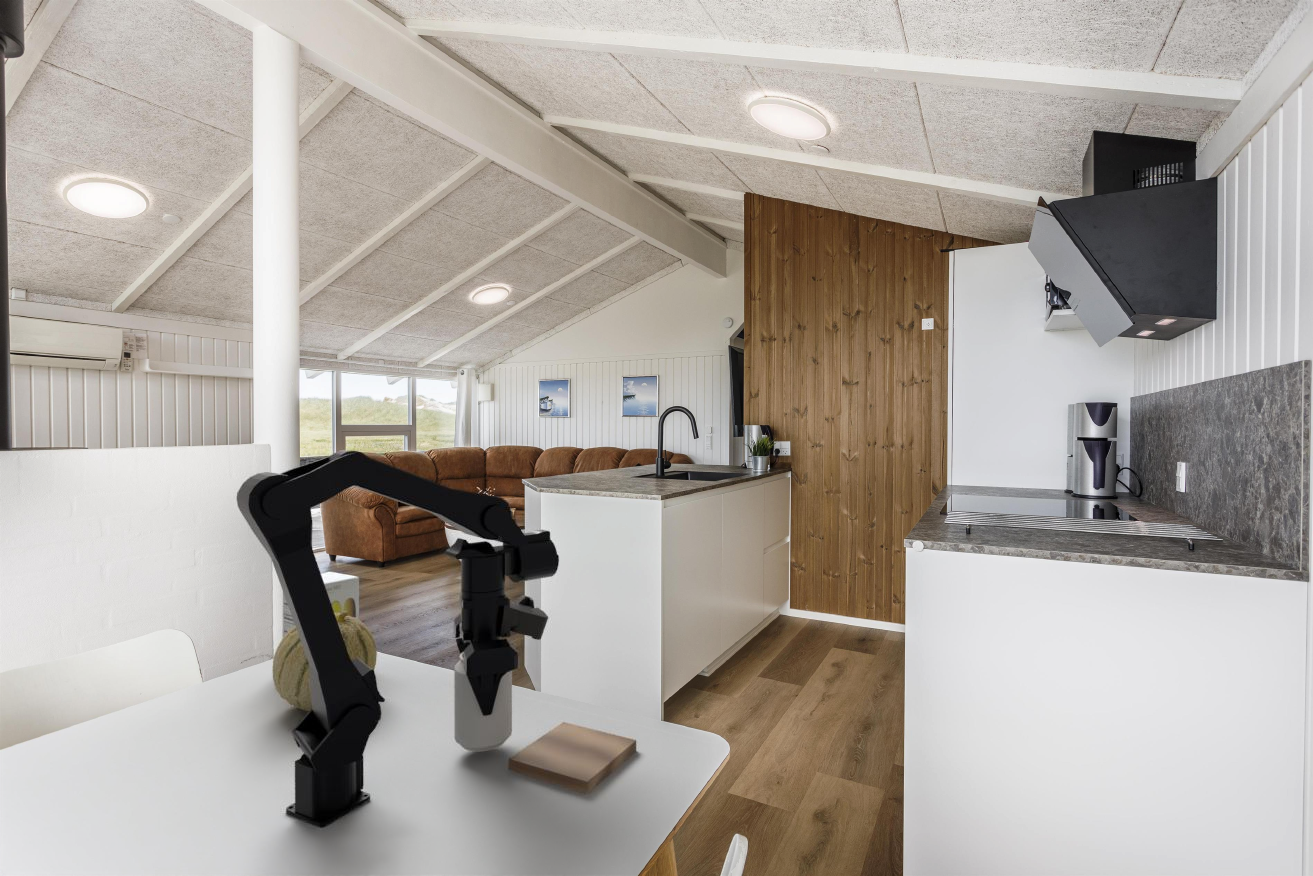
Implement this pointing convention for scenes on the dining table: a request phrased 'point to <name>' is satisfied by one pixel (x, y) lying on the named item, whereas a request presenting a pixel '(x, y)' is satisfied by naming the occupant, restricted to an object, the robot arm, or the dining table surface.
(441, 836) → the dining table surface
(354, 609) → the supplement box
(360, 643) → the cantaloupe
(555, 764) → the walnut block
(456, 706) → the can
